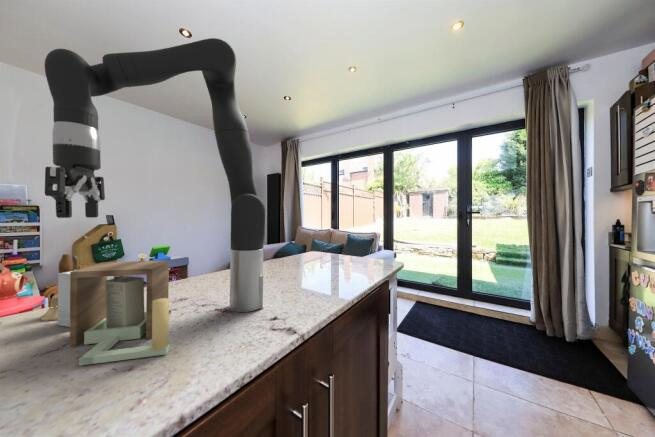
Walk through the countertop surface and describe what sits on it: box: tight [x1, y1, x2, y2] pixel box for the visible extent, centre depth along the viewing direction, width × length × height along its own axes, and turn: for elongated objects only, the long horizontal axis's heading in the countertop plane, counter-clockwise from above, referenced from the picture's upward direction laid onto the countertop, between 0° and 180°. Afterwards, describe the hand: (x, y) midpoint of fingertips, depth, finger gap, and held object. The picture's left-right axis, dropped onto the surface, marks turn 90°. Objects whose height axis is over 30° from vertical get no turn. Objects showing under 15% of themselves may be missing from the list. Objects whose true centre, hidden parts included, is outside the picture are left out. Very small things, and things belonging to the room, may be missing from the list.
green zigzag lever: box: [78, 297, 171, 366], centre depth 51 cm, size 17×18×10 cm
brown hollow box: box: [69, 259, 170, 348], centre depth 54 cm, size 14×10×15 cm
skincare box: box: [105, 275, 145, 329], centre depth 54 cm, size 6×4×12 cm
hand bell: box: [40, 253, 74, 322], centre depth 63 cm, size 8×8×16 cm
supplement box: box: [57, 270, 115, 328], centre depth 59 cm, size 7×7×13 cm
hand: (79, 217), depth 54 cm, fingers open, 8 cm apart
